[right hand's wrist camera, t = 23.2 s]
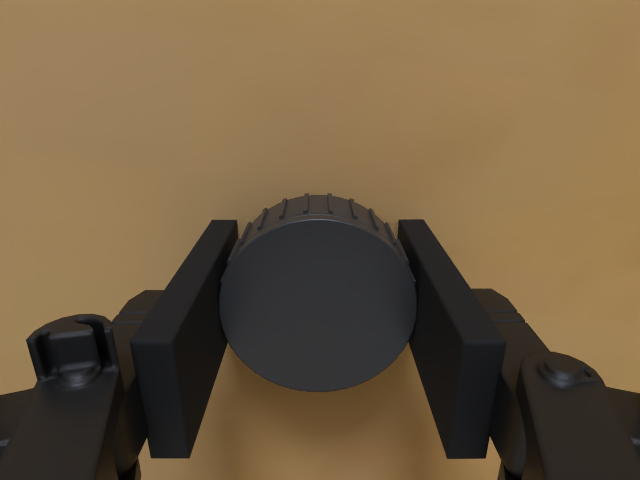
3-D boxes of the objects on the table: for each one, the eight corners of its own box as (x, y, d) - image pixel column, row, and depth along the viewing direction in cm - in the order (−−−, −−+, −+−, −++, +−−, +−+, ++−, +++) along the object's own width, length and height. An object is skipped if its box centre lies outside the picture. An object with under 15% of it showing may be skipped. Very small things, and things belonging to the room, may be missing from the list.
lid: (442, 255, 13) (463, 289, 11) (337, 376, 14) (341, 423, 13) (293, 154, 12) (288, 172, 10) (198, 296, 13) (178, 335, 11)
